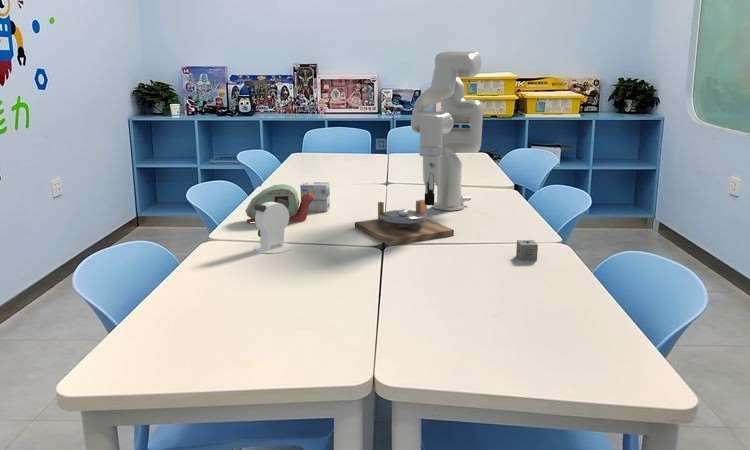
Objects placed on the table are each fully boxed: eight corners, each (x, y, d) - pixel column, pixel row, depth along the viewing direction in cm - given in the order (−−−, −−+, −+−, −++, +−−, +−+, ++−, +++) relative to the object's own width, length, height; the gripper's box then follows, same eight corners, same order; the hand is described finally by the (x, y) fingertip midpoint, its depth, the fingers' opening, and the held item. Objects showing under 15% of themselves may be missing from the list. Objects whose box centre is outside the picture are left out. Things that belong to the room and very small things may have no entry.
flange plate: (403, 227, 212) (403, 212, 211) (370, 218, 224) (370, 204, 222) (440, 217, 224) (441, 203, 223) (407, 209, 236) (407, 196, 234)
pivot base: (415, 219, 241) (415, 195, 238) (453, 235, 219) (454, 209, 217) (354, 227, 229) (354, 203, 227) (389, 245, 208) (389, 218, 206)
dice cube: (532, 255, 198) (533, 240, 197) (536, 260, 193) (537, 244, 192) (516, 255, 198) (517, 240, 197) (520, 261, 193) (521, 245, 192)
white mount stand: (275, 240, 214) (273, 196, 210) (299, 247, 207) (298, 201, 203) (247, 249, 205) (244, 203, 201) (271, 256, 198) (269, 208, 194)
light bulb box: (330, 208, 258) (330, 181, 255) (327, 212, 252) (327, 184, 249) (304, 207, 259) (303, 181, 256) (300, 211, 253) (299, 184, 250)
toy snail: (245, 225, 234) (243, 187, 230) (246, 219, 241) (244, 183, 237) (314, 222, 236) (313, 185, 233) (314, 217, 244) (313, 181, 240)
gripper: (444, 154, 210) (442, 209, 214) (439, 148, 224) (438, 200, 229) (421, 154, 210) (419, 209, 214) (417, 148, 224) (416, 200, 229)
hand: (429, 204), depth 221 cm, fingers closed
